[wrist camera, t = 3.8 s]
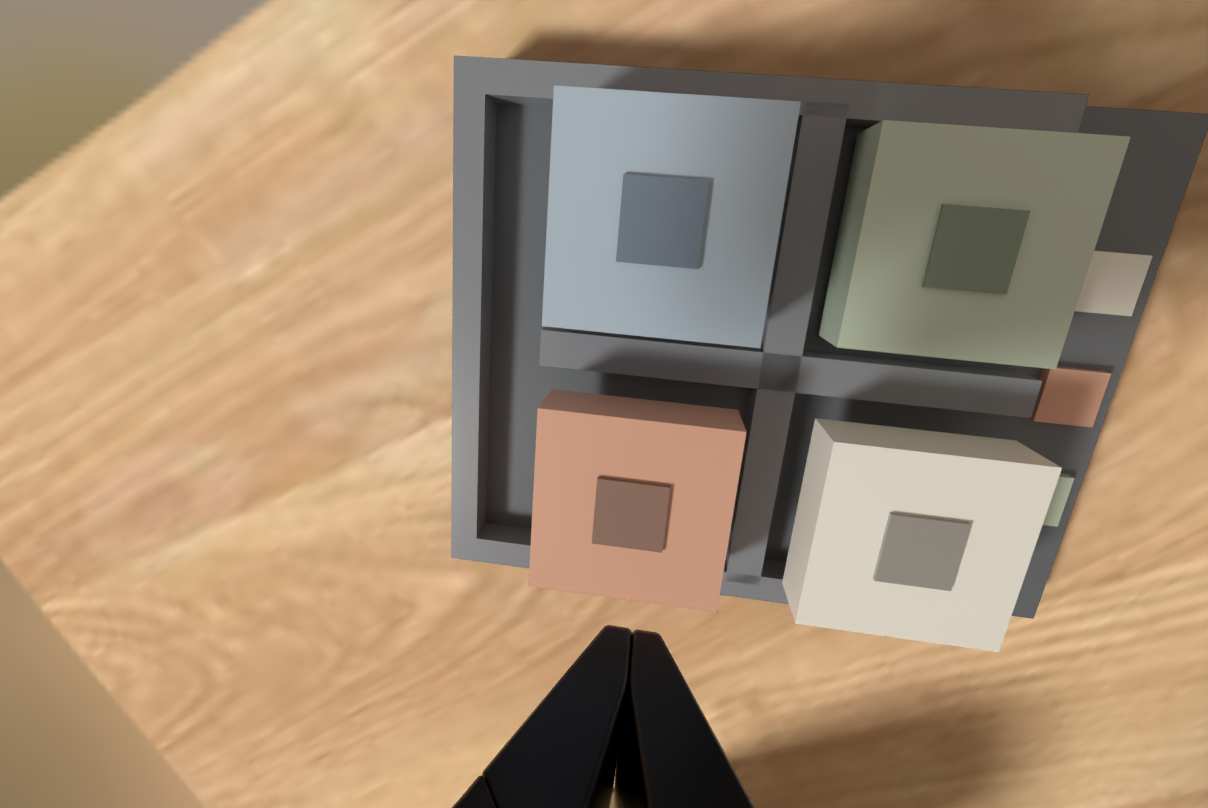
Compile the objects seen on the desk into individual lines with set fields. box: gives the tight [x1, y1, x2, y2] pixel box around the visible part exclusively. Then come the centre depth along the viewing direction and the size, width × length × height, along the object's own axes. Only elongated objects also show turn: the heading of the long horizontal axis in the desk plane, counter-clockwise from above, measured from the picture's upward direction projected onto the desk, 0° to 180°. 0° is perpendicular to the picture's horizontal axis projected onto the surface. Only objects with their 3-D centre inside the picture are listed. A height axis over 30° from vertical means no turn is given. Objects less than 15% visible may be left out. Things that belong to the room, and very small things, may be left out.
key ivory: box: [782, 418, 1062, 652], centre depth 15 cm, size 5×5×2 cm
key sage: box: [819, 120, 1130, 369], centre depth 14 cm, size 5×5×2 cm
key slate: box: [542, 86, 801, 348], centre depth 13 cm, size 5×5×2 cm
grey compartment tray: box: [451, 56, 1208, 619], centre depth 16 cm, size 18×14×2 cm
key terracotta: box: [529, 389, 746, 612], centre depth 15 cm, size 5×5×2 cm
